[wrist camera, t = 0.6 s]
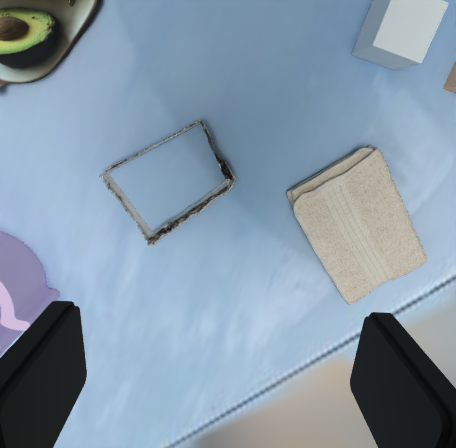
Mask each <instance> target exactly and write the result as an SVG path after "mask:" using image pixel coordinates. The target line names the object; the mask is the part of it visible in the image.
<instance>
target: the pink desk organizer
mask: <svg viewBox="0 0 456 448" xmlns="http://www.w3.org/2000/svg"><path fill="white" fill-rule="evenodd" d="M58 297H59V291H58V290H56V289H51V288H48V287H47V286H46V276H45V272H44V269H43V266H42V264H41V262H40V260H39V259H38V257H37V256H36V254H35V253H34V252H33V251H32V250H31V249H30V248H29V247H28V246H27V245H26V244H24V243H23V242H22V241H20V240H18V239H17V238H15V237H13V236H11V235H9V234H6V233H3V232H0V306H1V307H0V355H1V354H2V353H3V352H4V351H5V350H6V348H7V347H8V346H9V345H10V344H11V343H12V342H13V341H14V340H15V339H16V337H17V336H18V335H19V334H20V333H21V332H22V331H26V330H27V329H28V328H29V327H30V325H31V324H32V323H33V322H34V321H35V320H36V319H37V318H38V316H39V315H40V314H41V313H42V312H43V311H44V310H45V309H46V307H47V306H48V305H49V304H50V303H51V302H52V301H56V299H57V298H58Z"/></svg>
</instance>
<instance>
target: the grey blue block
mask: <svg viewBox="0 0 456 448" xmlns="http://www.w3.org/2000/svg"><path fill="white" fill-rule="evenodd" d="M448 4H449V3H447V2H445V1H442V0H373V1H372V3H371V5H370V8H369V11H368V13H367V16H366V18H365V21H364V23H363V26H362V29H361V31H360V34H359V36H358V39H357V42H356V44H355V47H354V49H353V52H352V54H351V55H353V56H356V57H359V58H362V59H364V60H367V61H370V62H372V63H375V64H378V65H381V66H383V67H386V68H389V69H392V70H397V69H401V68H405V67H410V66H414V65H418V64H421V63H422V61H423V59H424V57H425V55H426V52H427V50H428V48H429V46H430V44H431V41H432V39H433V37H434V35H435V33H436V30H437V28H438V26H439V24H440V22H441V19H442V17H443V15H444V13H445V11H446V8H447V6H448Z"/></svg>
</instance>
